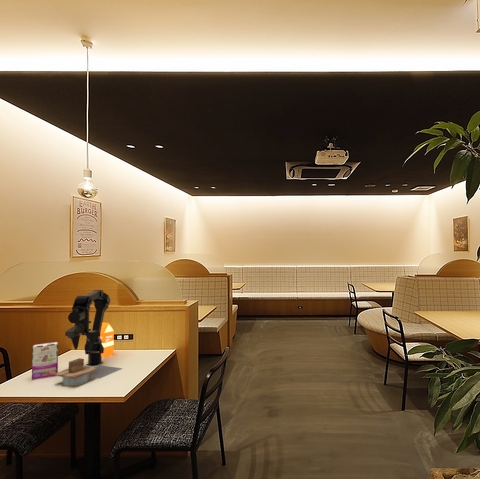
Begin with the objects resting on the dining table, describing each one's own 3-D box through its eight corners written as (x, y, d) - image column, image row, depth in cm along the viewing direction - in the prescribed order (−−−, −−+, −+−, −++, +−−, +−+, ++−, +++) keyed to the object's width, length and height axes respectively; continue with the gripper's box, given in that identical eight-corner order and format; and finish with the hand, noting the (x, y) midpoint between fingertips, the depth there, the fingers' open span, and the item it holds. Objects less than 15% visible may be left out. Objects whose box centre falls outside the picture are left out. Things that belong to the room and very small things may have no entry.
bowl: (57, 384, 152) (57, 375, 152) (76, 377, 162) (77, 367, 163) (74, 387, 148) (75, 377, 148) (93, 379, 158) (93, 370, 159)
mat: (75, 375, 165) (75, 374, 165) (99, 365, 180) (99, 365, 180) (99, 379, 159) (100, 378, 159) (122, 369, 174) (122, 368, 174)
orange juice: (103, 357, 195) (104, 324, 196) (93, 356, 199) (93, 323, 200) (113, 354, 202) (114, 321, 203) (103, 352, 206) (104, 320, 207)
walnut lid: (54, 375, 152) (54, 362, 152) (77, 367, 164) (77, 355, 164) (74, 378, 147) (75, 365, 148) (97, 369, 159) (97, 357, 160)
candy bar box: (57, 373, 168) (58, 341, 169) (57, 376, 163) (58, 343, 164) (32, 377, 163) (33, 344, 164) (31, 380, 158) (32, 346, 159)
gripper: (56, 321, 165) (55, 352, 164) (84, 323, 158) (83, 356, 157) (74, 317, 175) (74, 347, 174) (101, 319, 168) (101, 350, 167)
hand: (82, 350), depth 168 cm, fingers open, 9 cm apart
